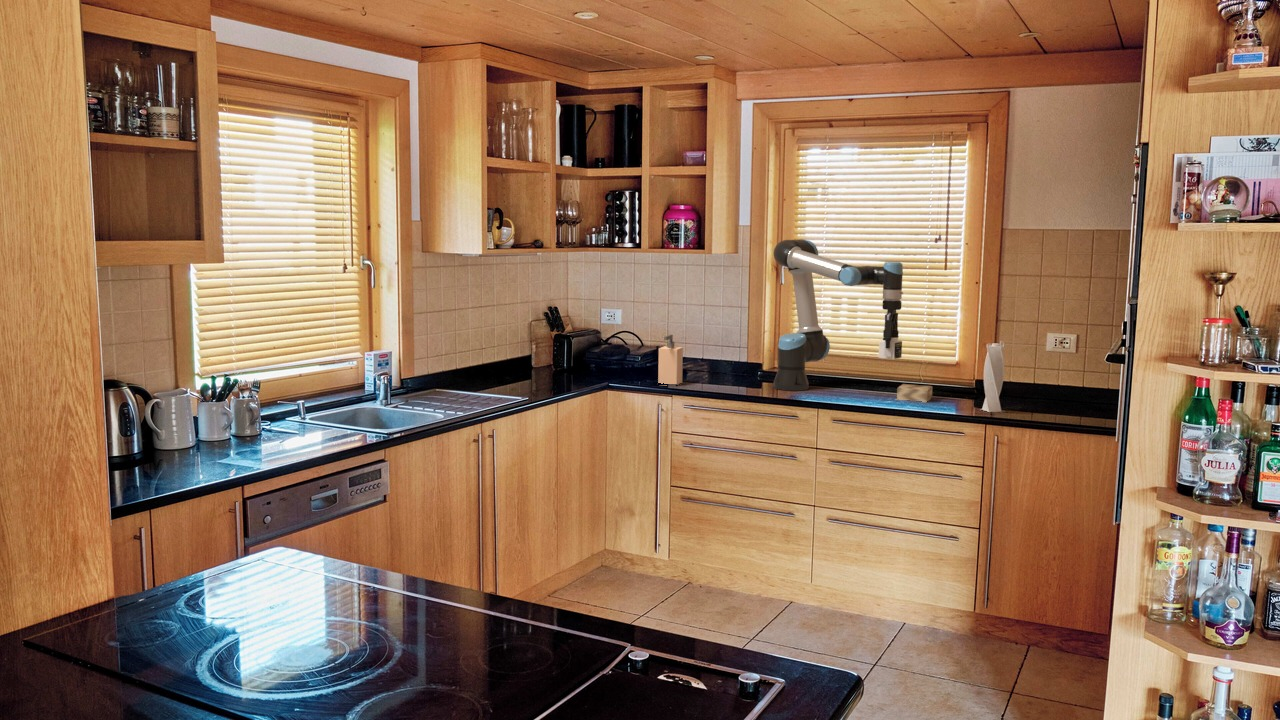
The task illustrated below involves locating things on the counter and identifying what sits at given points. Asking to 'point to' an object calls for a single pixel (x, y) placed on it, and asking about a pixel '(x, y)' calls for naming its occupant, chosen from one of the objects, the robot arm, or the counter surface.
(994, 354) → the skyscraper
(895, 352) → the medicine bottle
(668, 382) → the soap dispenser
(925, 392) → the base block
